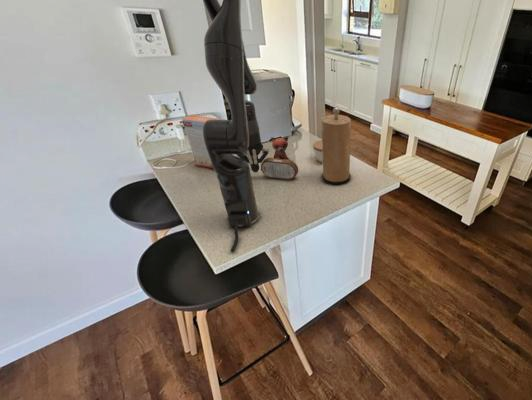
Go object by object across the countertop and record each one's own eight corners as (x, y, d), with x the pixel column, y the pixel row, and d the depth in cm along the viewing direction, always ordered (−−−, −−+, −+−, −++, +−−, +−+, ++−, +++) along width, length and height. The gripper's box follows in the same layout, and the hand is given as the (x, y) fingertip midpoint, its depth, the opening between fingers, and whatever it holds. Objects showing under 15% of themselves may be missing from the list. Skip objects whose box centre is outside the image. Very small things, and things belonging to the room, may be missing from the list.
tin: (299, 177, 117) (297, 159, 112) (297, 181, 114) (295, 163, 109) (264, 174, 118) (261, 156, 113) (261, 178, 115) (258, 159, 110)
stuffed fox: (287, 153, 135) (285, 129, 128) (292, 163, 127) (289, 138, 120) (271, 155, 133) (268, 131, 126) (275, 166, 124) (271, 140, 117)
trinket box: (322, 167, 125) (321, 147, 120) (309, 158, 132) (308, 139, 127) (341, 161, 131) (341, 142, 126) (327, 153, 138) (327, 134, 133)
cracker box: (232, 165, 123) (221, 118, 111) (223, 171, 118) (211, 123, 106) (205, 159, 126) (192, 113, 114) (195, 165, 121) (180, 118, 109)
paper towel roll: (351, 185, 114) (353, 112, 97) (321, 185, 113) (319, 112, 96) (349, 171, 124) (351, 103, 107) (322, 171, 123) (320, 102, 106)
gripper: (226, 134, 100) (236, 176, 110) (264, 134, 101) (271, 175, 111) (232, 126, 106) (241, 167, 116) (268, 127, 107) (274, 167, 117)
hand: (255, 171), depth 113 cm, fingers closed
